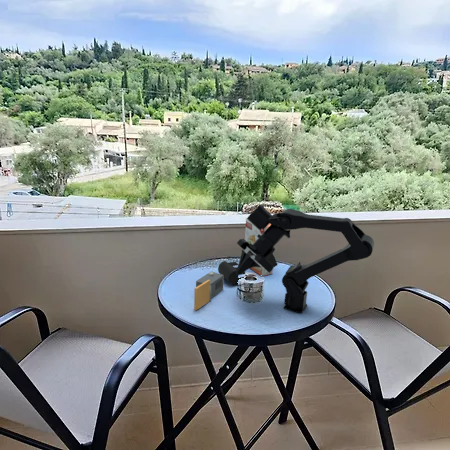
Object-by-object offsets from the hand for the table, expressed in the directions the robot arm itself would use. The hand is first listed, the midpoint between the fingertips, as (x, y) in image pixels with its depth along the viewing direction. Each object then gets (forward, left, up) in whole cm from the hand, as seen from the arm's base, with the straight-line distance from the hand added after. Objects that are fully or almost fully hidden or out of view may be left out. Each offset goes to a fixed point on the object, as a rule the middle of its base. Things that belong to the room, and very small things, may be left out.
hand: (237, 273), depth 143 cm
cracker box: (+8, -33, -13) cm, 36 cm away
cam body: (+13, -4, -12) cm, 18 cm away
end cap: (+12, -17, -13) cm, 24 cm away
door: (+10, +6, -12) cm, 17 cm away
